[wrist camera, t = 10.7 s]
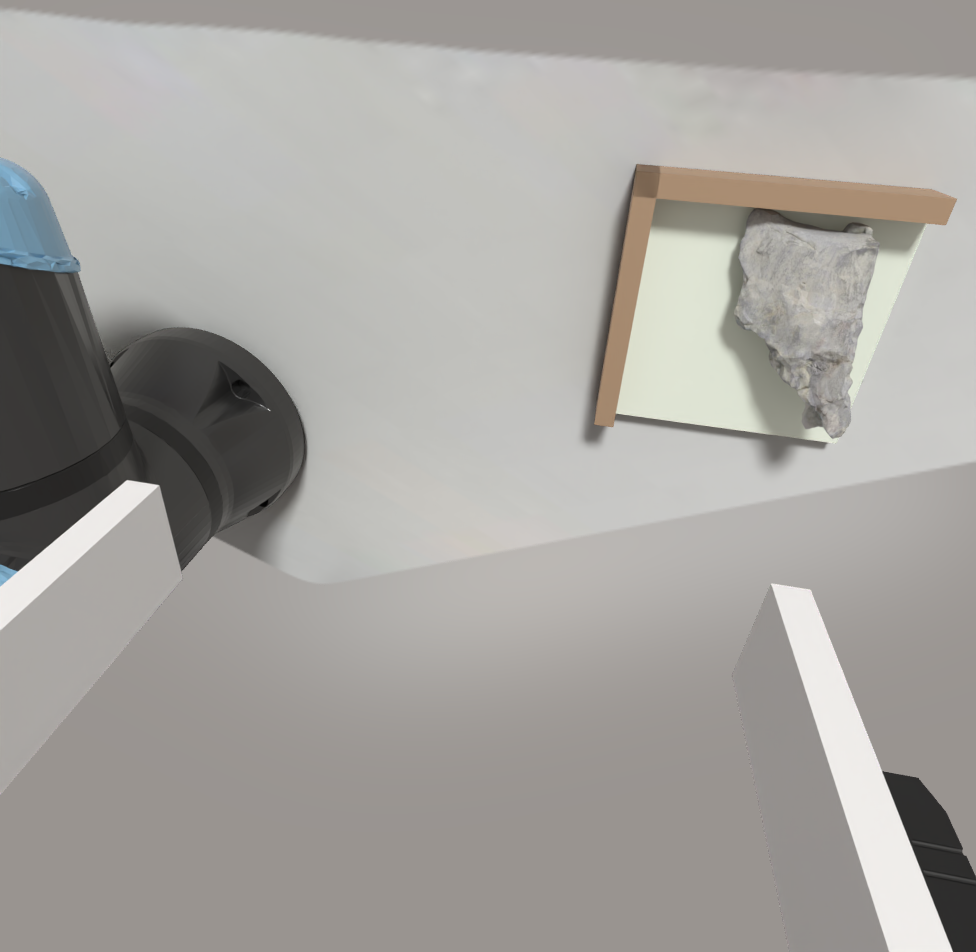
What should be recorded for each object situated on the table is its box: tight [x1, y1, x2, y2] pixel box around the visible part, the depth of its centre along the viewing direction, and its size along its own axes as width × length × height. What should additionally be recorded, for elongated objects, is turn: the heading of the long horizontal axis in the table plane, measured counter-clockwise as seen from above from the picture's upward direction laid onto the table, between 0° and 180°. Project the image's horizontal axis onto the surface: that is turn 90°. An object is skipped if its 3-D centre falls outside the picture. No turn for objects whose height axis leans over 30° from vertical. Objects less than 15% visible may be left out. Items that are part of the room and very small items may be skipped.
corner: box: [594, 164, 957, 444], centre depth 36 cm, size 15×15×3 cm
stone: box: [733, 208, 880, 439], centre depth 34 cm, size 6×12×4 cm, turn 7°
